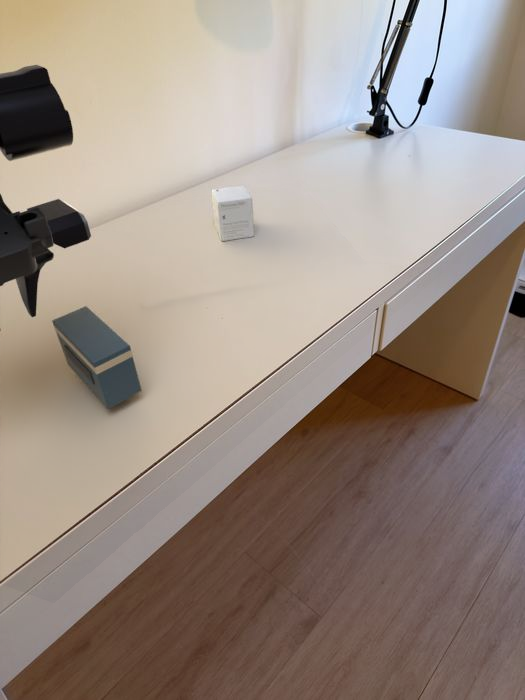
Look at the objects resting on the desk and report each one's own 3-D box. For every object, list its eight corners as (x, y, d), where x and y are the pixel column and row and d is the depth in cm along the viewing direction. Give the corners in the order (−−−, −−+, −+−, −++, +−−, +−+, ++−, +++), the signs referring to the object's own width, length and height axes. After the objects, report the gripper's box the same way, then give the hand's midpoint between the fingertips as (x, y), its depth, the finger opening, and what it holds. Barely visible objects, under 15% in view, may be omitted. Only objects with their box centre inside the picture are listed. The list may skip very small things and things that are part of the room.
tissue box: (142, 390, 63) (130, 345, 59) (107, 409, 61) (92, 364, 57) (99, 349, 70) (86, 305, 66) (66, 364, 68) (50, 320, 63)
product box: (221, 242, 92) (216, 202, 87) (215, 227, 97) (210, 188, 92) (255, 237, 93) (252, 197, 88) (247, 222, 98) (245, 184, 93)
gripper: (-157, 242, 35) (-58, 407, 45) (96, 168, 44) (133, 318, 54) (-180, 196, 42) (-90, 348, 52) (44, 140, 51) (85, 278, 61)
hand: (15, 322), depth 55 cm, fingers open, 3 cm apart
